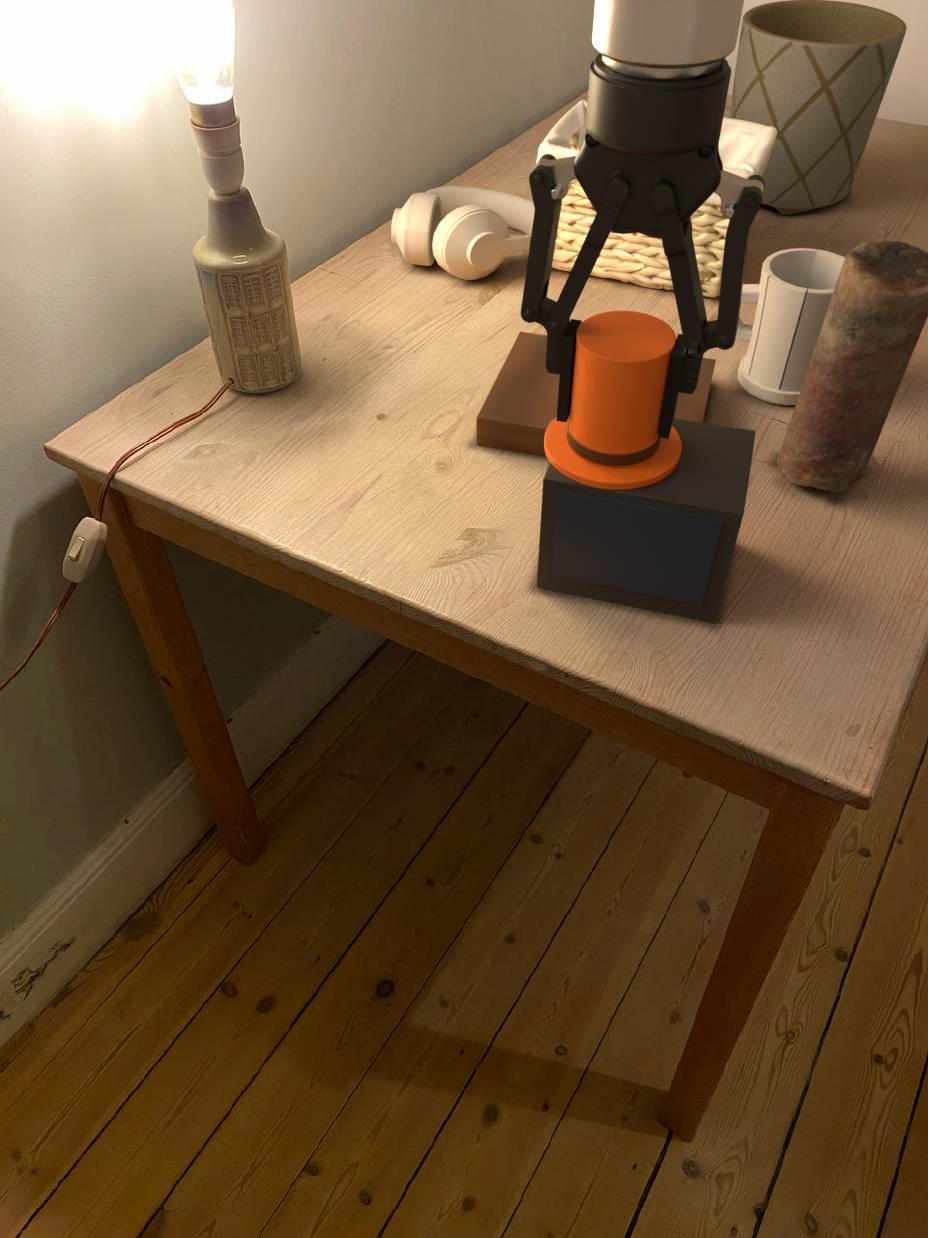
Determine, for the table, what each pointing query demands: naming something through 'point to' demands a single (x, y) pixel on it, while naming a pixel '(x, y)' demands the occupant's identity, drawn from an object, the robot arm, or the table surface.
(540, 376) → the brown wooden board
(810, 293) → the cup
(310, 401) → the table surface
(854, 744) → the table surface
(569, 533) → the television
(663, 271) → the basket
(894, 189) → the table surface
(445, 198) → the headphones
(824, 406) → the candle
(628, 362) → the hat
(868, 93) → the planter
